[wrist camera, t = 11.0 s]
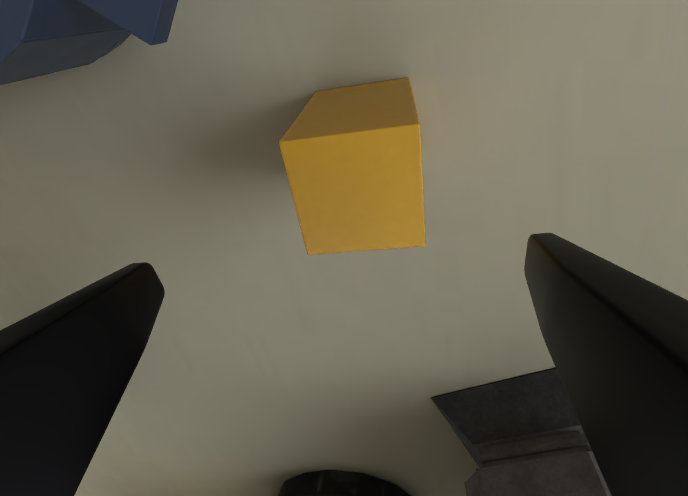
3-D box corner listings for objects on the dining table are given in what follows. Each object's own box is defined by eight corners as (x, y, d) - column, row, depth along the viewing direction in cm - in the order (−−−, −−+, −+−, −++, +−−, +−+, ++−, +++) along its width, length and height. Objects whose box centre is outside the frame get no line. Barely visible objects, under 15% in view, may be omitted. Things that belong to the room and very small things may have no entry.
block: (331, 176, 19) (307, 255, 13) (315, 91, 17) (277, 141, 11) (414, 167, 19) (425, 246, 13) (408, 77, 16) (420, 123, 10)
